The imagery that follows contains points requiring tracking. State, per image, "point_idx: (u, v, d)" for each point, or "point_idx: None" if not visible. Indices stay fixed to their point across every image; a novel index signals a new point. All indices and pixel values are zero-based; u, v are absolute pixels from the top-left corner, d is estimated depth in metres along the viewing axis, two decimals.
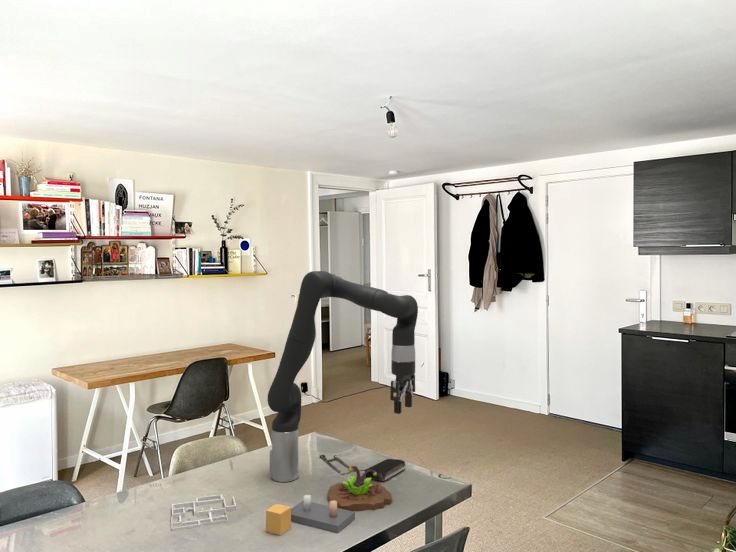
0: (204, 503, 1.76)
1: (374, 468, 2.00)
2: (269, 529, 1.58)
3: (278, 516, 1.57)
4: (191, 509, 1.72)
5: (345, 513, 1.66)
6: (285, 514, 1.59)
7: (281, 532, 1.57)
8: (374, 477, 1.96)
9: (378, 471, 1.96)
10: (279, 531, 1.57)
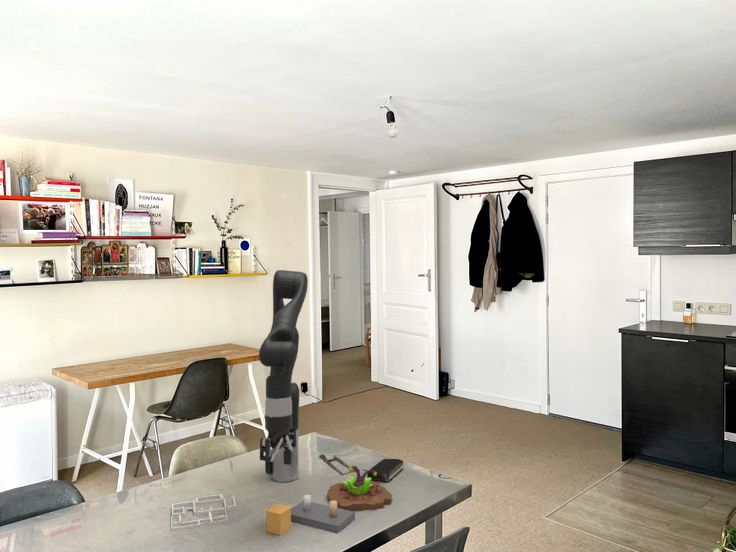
0: (204, 503, 1.77)
1: (375, 469, 1.99)
2: (269, 529, 1.58)
3: (278, 516, 1.57)
4: (191, 509, 1.72)
5: (345, 513, 1.66)
6: (285, 514, 1.59)
7: (281, 532, 1.57)
8: (378, 478, 1.95)
9: (382, 471, 1.96)
10: (279, 531, 1.57)
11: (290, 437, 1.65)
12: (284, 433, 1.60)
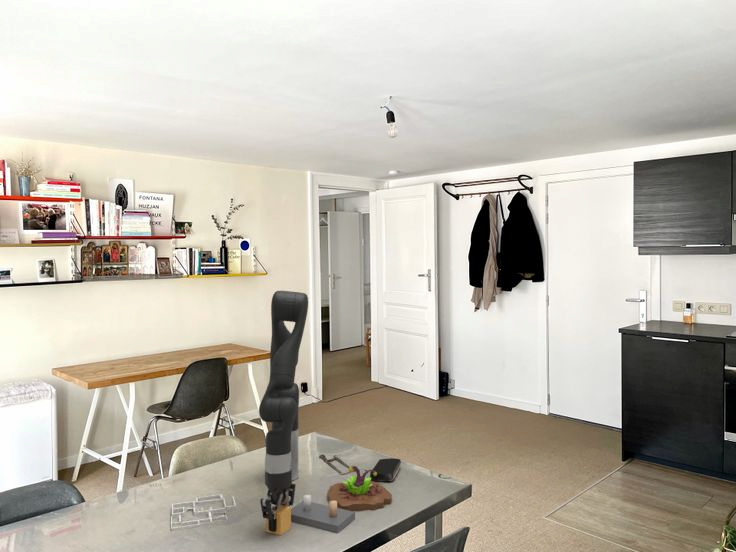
0: (204, 503, 1.77)
1: (377, 469, 1.99)
2: None
3: (278, 516, 1.57)
4: (191, 509, 1.72)
5: (345, 513, 1.66)
6: (285, 514, 1.59)
7: (281, 532, 1.57)
8: (382, 478, 1.95)
9: (385, 472, 1.96)
10: (279, 531, 1.57)
11: (288, 494, 1.64)
12: (284, 488, 1.60)
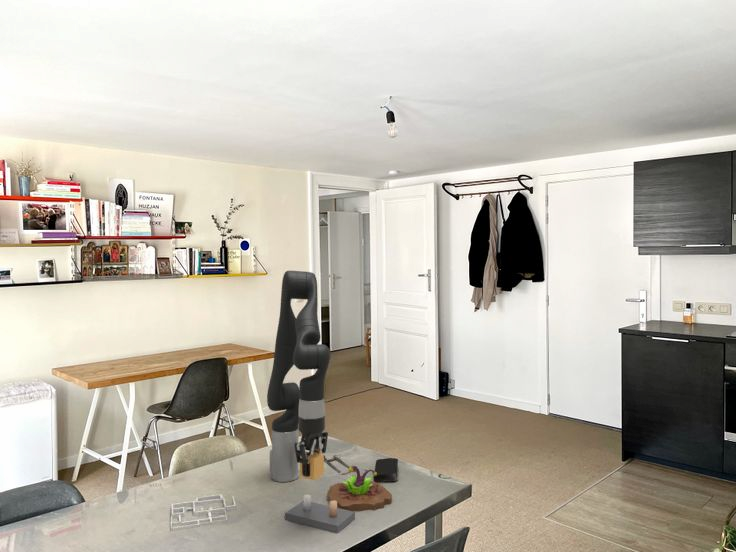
0: (204, 503, 1.77)
1: (380, 470, 1.98)
2: None
3: (312, 461, 1.59)
4: (191, 509, 1.72)
5: (345, 513, 1.66)
6: (318, 460, 1.61)
7: (315, 477, 1.59)
8: (387, 479, 1.94)
9: (389, 472, 1.96)
10: (313, 476, 1.59)
11: (321, 442, 1.67)
12: (317, 435, 1.63)
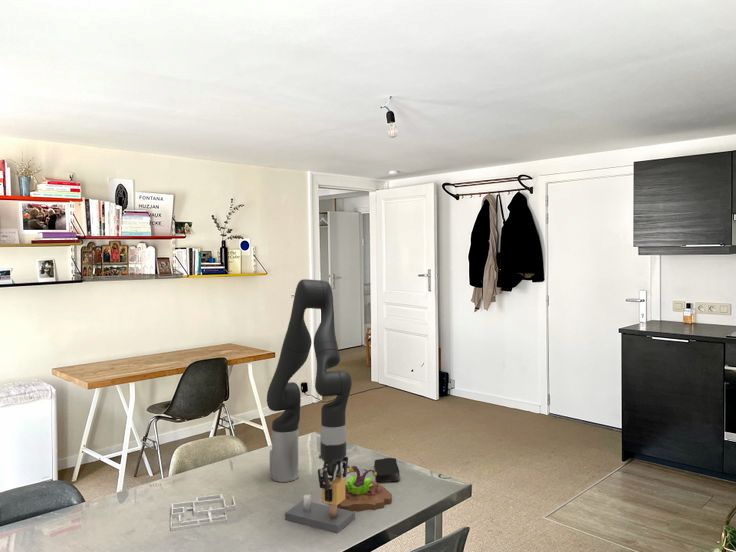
0: (204, 503, 1.77)
1: (381, 470, 1.98)
2: None
3: (334, 486, 1.61)
4: (191, 509, 1.72)
5: (345, 513, 1.66)
6: (340, 485, 1.63)
7: (337, 502, 1.61)
8: (389, 479, 1.94)
9: (392, 472, 1.96)
10: (335, 501, 1.61)
11: (342, 466, 1.69)
12: (338, 460, 1.65)
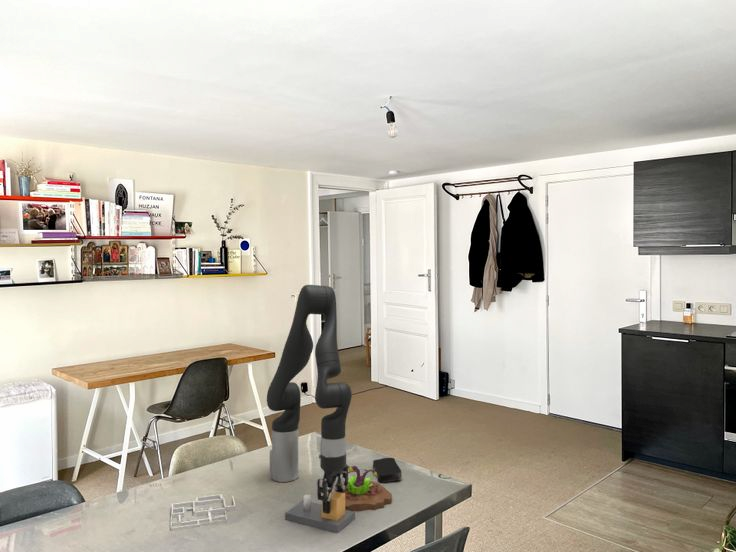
0: (204, 503, 1.77)
1: (383, 470, 1.98)
2: (325, 515, 1.63)
3: (334, 502, 1.61)
4: (191, 509, 1.72)
5: (345, 513, 1.66)
6: (340, 500, 1.63)
7: (337, 517, 1.62)
8: (392, 478, 1.95)
9: (394, 471, 1.96)
10: (335, 516, 1.61)
11: (342, 475, 1.69)
12: (338, 472, 1.65)
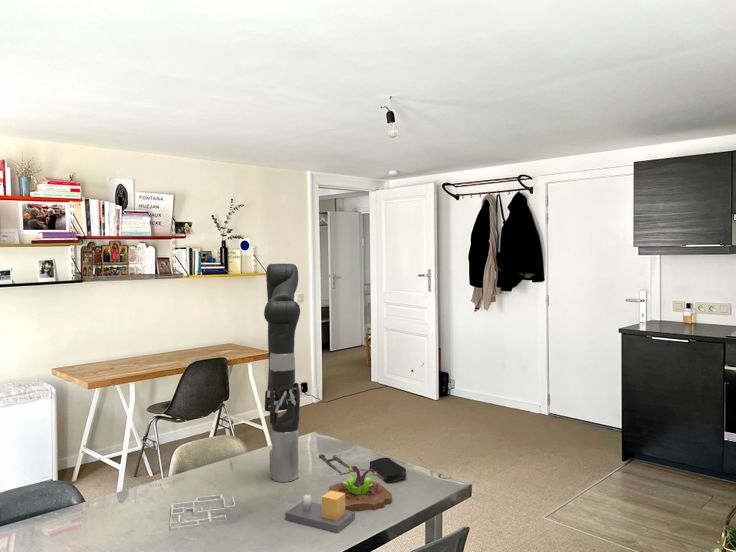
0: (204, 503, 1.77)
1: (387, 470, 1.97)
2: (325, 515, 1.63)
3: (334, 502, 1.61)
4: (190, 509, 1.72)
5: (345, 513, 1.66)
6: (340, 500, 1.63)
7: (337, 517, 1.62)
8: (399, 477, 1.95)
9: (399, 470, 1.97)
10: (335, 516, 1.61)
11: (293, 392, 1.75)
12: (287, 387, 1.70)
